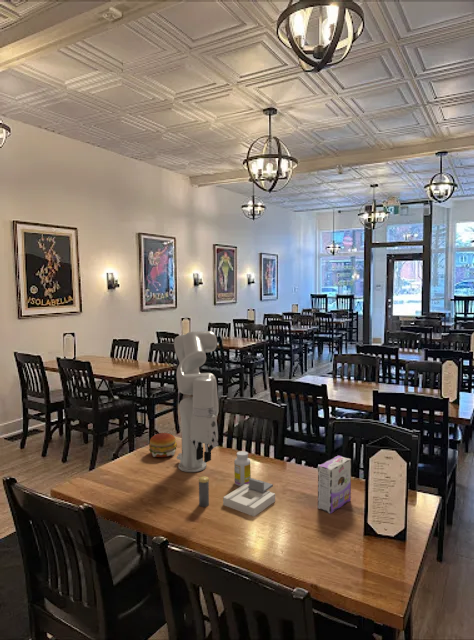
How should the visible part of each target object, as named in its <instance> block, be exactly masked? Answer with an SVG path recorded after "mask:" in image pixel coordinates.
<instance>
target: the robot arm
mask: <svg viewBox="0 0 474 640" xmlns="http://www.w3.org/2000/svg"><path fill="white" fill-rule="evenodd" d="M173 344H174V345H173V346H174V352H175V354H176V358H177V359H178V362H179V364H178V366H177V368H176V382H177V389H178V391H179V392H180V394H183V395H192V397H185V398H183V399H181V400H180V402H179V405H178V406H179V407H178V409H179V416H180V425H181V426H180V427H181V429H180V430H181V452H179V453H178V454H177V456H176V459H177V460H179V463H178V470H180V471H182V472H186V473H196V472H200V471H203V470H205V469H206V468H207V463H209V462H210V461H211V460H212V451H213V449H215V448H216V447H218V446H219V442H218V441H219V431H218V430H219V429H218V421H217V416H218V414H219V398H218V384H217V378H216V376H215V374H213V373H211V372H200V367H202V366H203V365H204V364H205V363H206V361H207V355H206V353H211V352H214V351H215V350H216V349H217V346H218V339H217V336H216V334H215V332H214V331H210V330H208V331H205V330H204V331H202V330H201V331H189V332H187V333H185V334H180V335H178V336H176V337H175V338H174V341H173ZM204 450H205V451H204Z"/></svg>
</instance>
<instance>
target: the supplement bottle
mask: <svg viewBox="0 0 474 640" xmlns="http://www.w3.org/2000/svg"><path fill="white" fill-rule="evenodd" d="M233 463H234V465H233V466H234V471H233V472H234V473H233V474H234V484H235V485H236V486H238V487H241V486H242V485H244V484H247V485H249V479H250V478H252V476H251V474H252V473H251V472H252V471H251V469H252V468H251V459H250V458H249V452H248V451H245V450H241V451H239V450H238V451H237V452H236V458H235V459H234V462H233Z"/></svg>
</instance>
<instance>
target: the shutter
mask: <svg viewBox="0 0 474 640" xmlns="http://www.w3.org/2000/svg"><path fill="white" fill-rule="evenodd" d="M273 487H274V484H273V483H269V482H266V481H263V480H260V479H256V478H253V477H251V478H250V479H249V486H248V488H249V489H252V490H255V491H258V492H261V493H264V492H265V491H269V490H270V489H272V488H273Z"/></svg>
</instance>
